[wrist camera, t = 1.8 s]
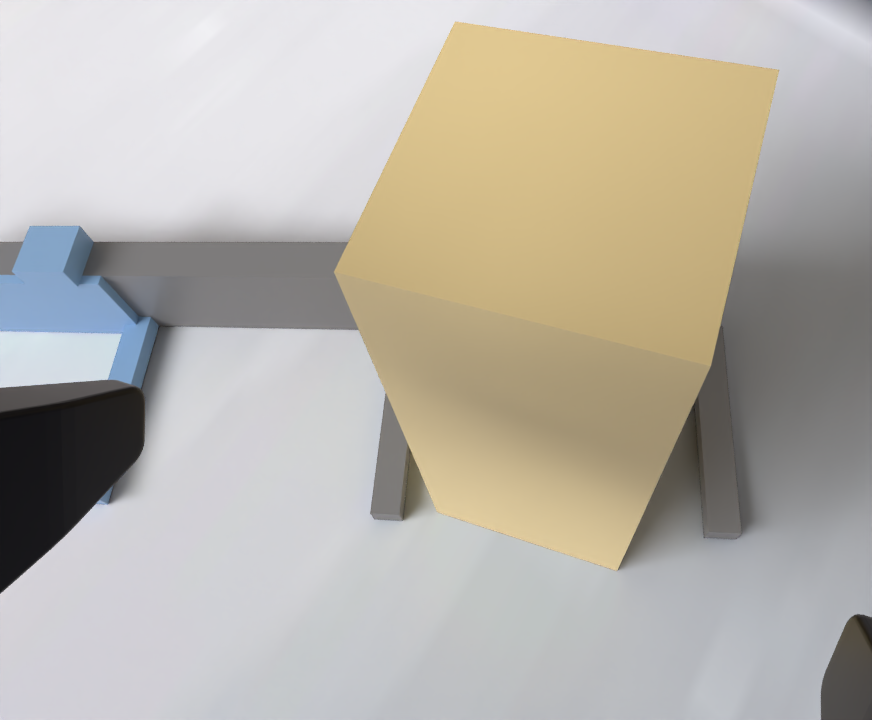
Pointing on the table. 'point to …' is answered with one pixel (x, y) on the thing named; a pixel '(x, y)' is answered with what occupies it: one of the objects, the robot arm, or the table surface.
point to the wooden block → (554, 273)
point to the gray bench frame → (262, 326)
